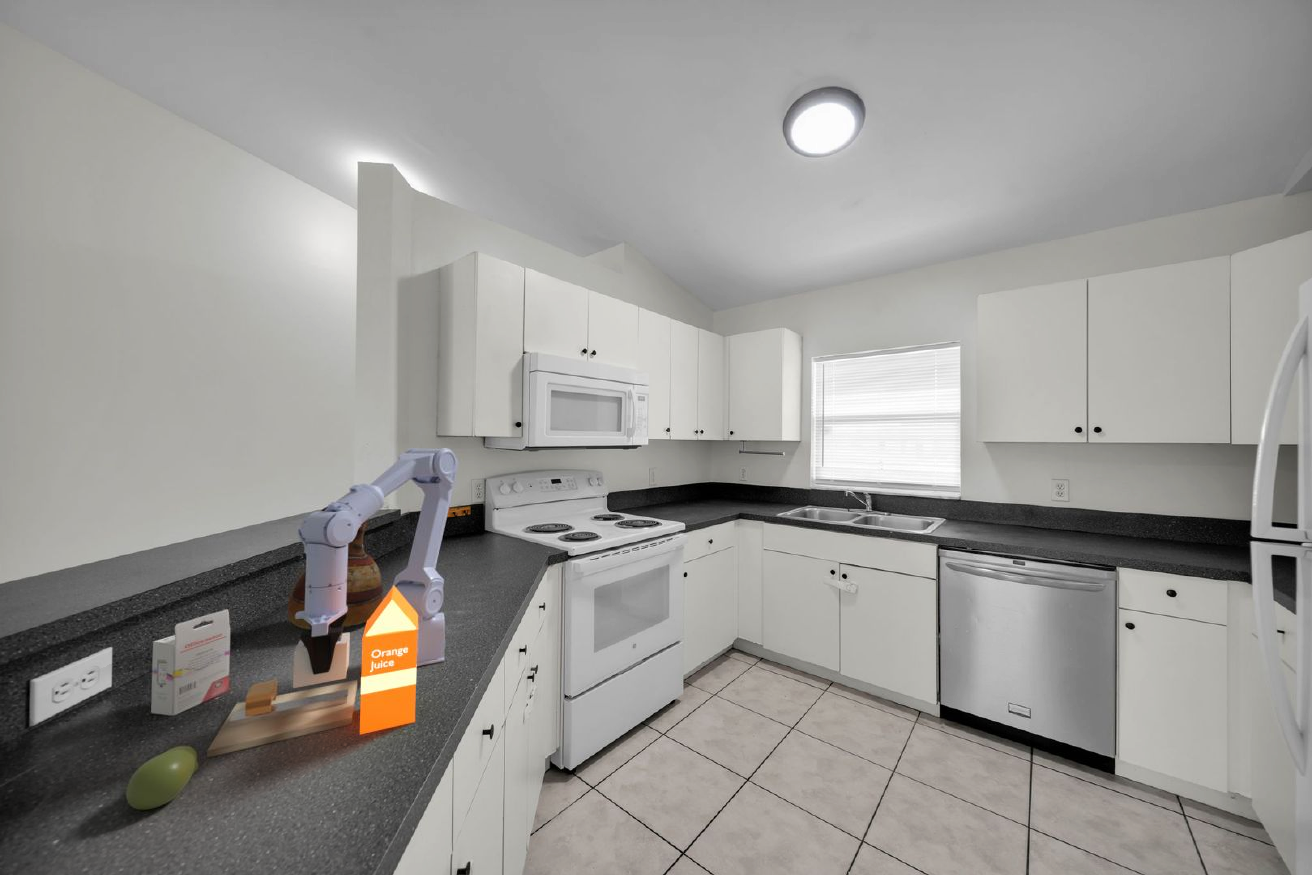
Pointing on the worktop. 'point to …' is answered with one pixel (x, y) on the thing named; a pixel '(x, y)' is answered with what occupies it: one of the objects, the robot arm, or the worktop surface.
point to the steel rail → (292, 707)
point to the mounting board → (285, 722)
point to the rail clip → (260, 698)
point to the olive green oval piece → (161, 778)
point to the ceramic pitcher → (360, 586)
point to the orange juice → (389, 665)
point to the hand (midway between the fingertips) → (323, 665)
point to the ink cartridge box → (191, 664)
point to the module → (336, 672)
